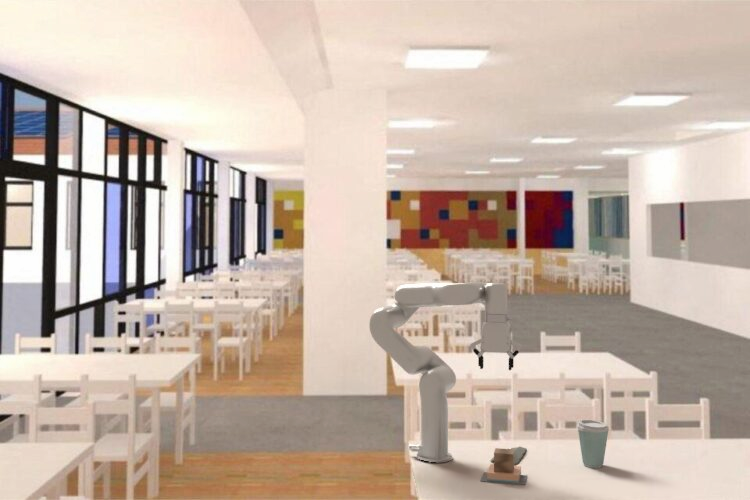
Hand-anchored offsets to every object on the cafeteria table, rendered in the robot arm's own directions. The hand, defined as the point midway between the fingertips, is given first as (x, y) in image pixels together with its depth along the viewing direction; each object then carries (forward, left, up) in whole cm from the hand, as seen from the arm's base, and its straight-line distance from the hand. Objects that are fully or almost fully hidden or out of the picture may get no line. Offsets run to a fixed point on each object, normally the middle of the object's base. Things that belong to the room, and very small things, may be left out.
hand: (495, 369), depth 250 cm
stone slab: (+4, +15, -34) cm, 37 cm away
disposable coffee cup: (+32, +10, -34) cm, 47 cm away
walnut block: (+4, -12, -31) cm, 33 cm away
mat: (+4, -13, -33) cm, 36 cm away
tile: (+4, -7, -32) cm, 33 cm away
